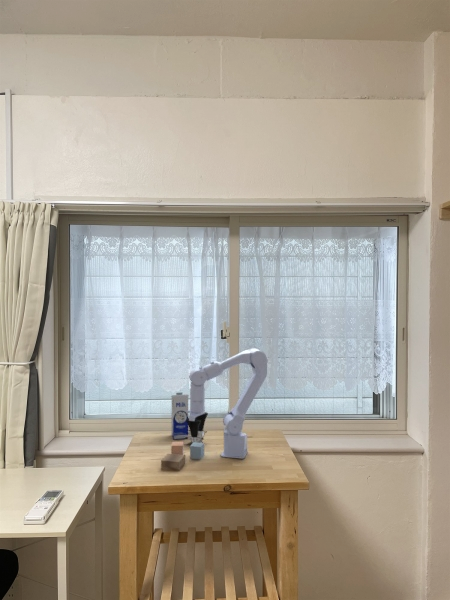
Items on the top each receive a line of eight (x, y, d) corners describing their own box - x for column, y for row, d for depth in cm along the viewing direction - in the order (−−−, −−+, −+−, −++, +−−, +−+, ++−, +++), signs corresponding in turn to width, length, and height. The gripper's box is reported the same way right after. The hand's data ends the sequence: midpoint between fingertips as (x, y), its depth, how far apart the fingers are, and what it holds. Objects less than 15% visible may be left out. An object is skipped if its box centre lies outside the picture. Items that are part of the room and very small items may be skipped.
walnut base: (185, 464, 164) (185, 455, 164) (179, 471, 157) (179, 462, 157) (167, 462, 166) (167, 453, 166) (161, 469, 159) (161, 460, 159)
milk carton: (172, 439, 191) (172, 395, 190) (171, 434, 197) (171, 391, 197) (188, 438, 192) (188, 394, 192) (186, 433, 199) (186, 390, 199)
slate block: (204, 455, 172) (204, 443, 172) (201, 459, 168) (201, 447, 168) (193, 454, 173) (193, 442, 173) (190, 458, 169) (190, 446, 169)
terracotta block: (183, 453, 174) (183, 441, 174) (182, 458, 169) (182, 445, 169) (172, 454, 174) (172, 441, 174) (171, 458, 169) (171, 445, 169)
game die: (200, 453, 185) (210, 437, 181) (182, 447, 183) (191, 432, 178) (200, 436, 193) (209, 422, 188) (182, 431, 190) (191, 416, 186)
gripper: (193, 395, 178) (193, 427, 179) (181, 403, 164) (181, 439, 165) (209, 396, 177) (209, 429, 177) (199, 405, 163) (199, 440, 163)
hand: (197, 434), depth 171 cm, fingers open, 7 cm apart
